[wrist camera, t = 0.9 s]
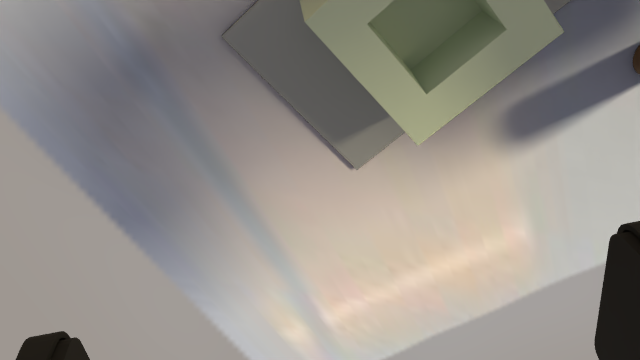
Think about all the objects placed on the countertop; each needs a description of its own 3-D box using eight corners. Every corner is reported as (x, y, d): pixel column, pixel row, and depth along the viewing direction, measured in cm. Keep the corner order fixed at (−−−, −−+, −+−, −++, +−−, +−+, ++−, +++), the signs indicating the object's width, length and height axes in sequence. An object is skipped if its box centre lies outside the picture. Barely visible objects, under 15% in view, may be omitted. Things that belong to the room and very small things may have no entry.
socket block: (434, -129, 31) (462, -124, 26) (527, 8, 35) (564, 31, 31) (299, -1, 34) (304, 21, 29) (400, 111, 38) (417, 145, 34)
